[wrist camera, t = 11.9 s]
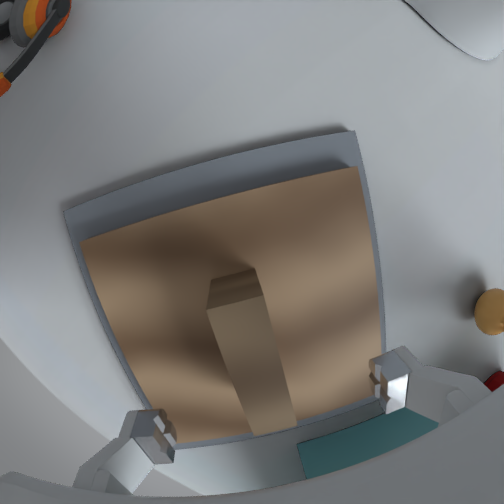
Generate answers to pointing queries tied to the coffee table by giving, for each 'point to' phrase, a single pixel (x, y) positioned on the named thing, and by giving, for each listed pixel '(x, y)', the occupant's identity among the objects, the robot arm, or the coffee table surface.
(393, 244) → the coffee table surface
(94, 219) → the mat
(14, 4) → the headphones
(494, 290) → the figurine
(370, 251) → the lid
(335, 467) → the open box
